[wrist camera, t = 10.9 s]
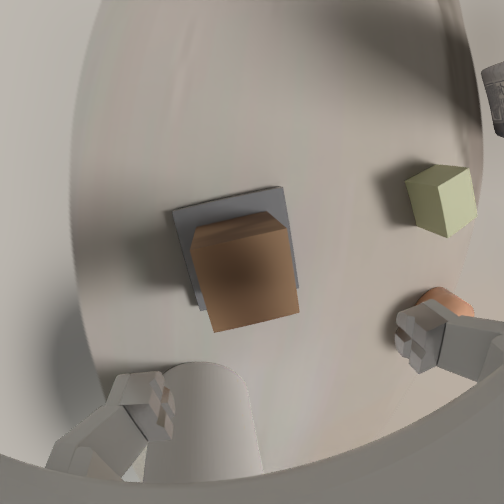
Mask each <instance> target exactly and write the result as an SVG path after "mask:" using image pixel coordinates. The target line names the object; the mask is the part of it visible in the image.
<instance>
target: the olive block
mask: <svg viewBox="0 0 504 504" xmlns="http://www.w3.org/2000/svg"><path fill="white" fill-rule="evenodd" d="M405 184H406V187H407V191H408V194H409V198H410V202H411V205H412V209H413V213H414V217H415V221H416V225H417V227H420V228H423V229H425V230H428V231H430V232H433V233H436V234H438V235H441V236H443V237H446V238H449V237H451V236H452V235H453V234H455V233H456V232H457V231H459V230H460V229H461V228H463V227H464V226H465V225H467V224H468V223H469V222H471V221H472V220H473V219H475V218H476V217H477V210H476V203H475V197H474V191H473V186H472V180H471V176H470V171H469V168H466V167H457V166H448V165H437V164H436V165H434V166H432V167H430V168H428V169H426V170H425V171H423V172H421V173H419V174H417V175H415V176H413V177H411V178H409V179H408V180H406V181H405Z"/></svg>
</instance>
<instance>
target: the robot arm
mask: <svg viewBox="0 0 504 504" xmlns="http://www.w3.org/2000/svg"><path fill="white" fill-rule="evenodd" d="M396 324H397V325H398V326H399V328H398V329H397V331H396V333H395V344H396V348H397V350H398V352H399V353H400V355H401V356H402V357H405V358H408V359H409V364H410V365H411V367H412V368H413V369H414V370H415V371H416V372H417V373H418V374H420V373H422V372H425V371H427V370H429V369H431V368H433V367H435V366H438V367H440V368H442V369H445V370H447V371H450V372H453V373H455V374H458V375H460V376H463V377H465V378H468V379H471V380H473V381H476V382H477V384H476V385H475V386H473V387H472V388H470V389H469V390H467V391H466V392H464V393H463V394H461V395H460V396H459V397H457V398H455V399H454V400H452V401H451V402H449V403H447V404H446V405H444V406H442V407H441V408H439V409H437V410H436V411H434V412H432V413H430V414H429V415H427V416H425V417H423V418H421V419H419V420H418V421H416V422H414V423H412V424H410V425H408V426H406V427H404V428H402V429H400V430H398V431H395V432H393V433H391V434H389V435H387V436H385V437H382V438H380V439H378V440H375V441H373V442H370V443H368V444H366V445H363V446H360V447H358V448H355V449H352V450H350V451H347V452H344V453H341V454H338V455H335V456H332V457H329V458H326V459H323V460H319V461H316V462H312V463H309V464H305V465H301V466H297V467H293V468H289V469H285V470H280V471H276V472H271V473H266V474H260V475H255V476H249V477H242V478H235V479H227V480H218V481H207V482H191V483H140V482H125V481H123V480H122V479H121V477H122V476H123V475H124V474H125V472H126V471H127V470H128V468H129V467H130V466H131V465H132V463H133V462H134V461H135V460H136V458H137V457H138V456H139V455H140V453H141V452H142V451H143V449H144V448H145V447H146V446H147V444H148V442H151V441H166V440H172V435H173V426H174V425H173V423H172V421H171V419H172V418H173V417H174V416H175V402H174V398H173V395H172V393H171V391H170V389H168V388H167V387H165V386H164V383H165V379H164V377H163V375H162V373H161V372H159V371H152V372H140V373H132V374H131V373H129V374H119V375H117V376H116V378H115V381H114V383H113V386H112V388H111V391H110V393H109V396H108V399H107V401H106V404H105V406H100V407H99V408H98V409H97V410H95V411H94V412H93V413H92V414H91V415H89V416H88V417H87V418H85V419H84V420H83V421H82V422H80V423H79V424H78V425H77V426H75V427H74V428H73V429H72V430H70V431H69V432H68V433H66V434H65V435H64V436H63V437H61V438H60V439H59V440H57V441H56V442H55V444H54V447H53V449H52V452H51V454H50V456H49V459H48V461H47V464H46V467H45V468H43V467H39V466H35V465H32V464H28V463H25V462H22V461H19V460H16V459H13V458H10V457H7V456H5V455H2V454H0V504H504V322H502V321H495V320H489V319H482V318H476V317H470V316H464V315H461V316H458V315H456V314H455V313H453V312H452V311H450V310H449V309H447V308H446V307H445V306H443V305H442V304H440V303H439V302H437V301H436V300H434V299H429V300H427V301H425V302H422V303H420V304H419V305H416V306H414V307H411V308H409V309H406V310H403V311H401V312H398V314H397V317H396Z"/></svg>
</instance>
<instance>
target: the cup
mask: <svg viewBox="0 0 504 504" xmlns="http://www.w3.org/2000/svg"><path fill="white" fill-rule="evenodd" d="M163 377H164V379H165V383H164V386H165V387H167V388H168V389H170V391H171V393H172V395H173V398H174V402H175V416H174V417H173V418H172V419H171V421H172V423H173V425H174V426H173V435H172V440H166V441H151V442H148V446H147V453H146V460H145V468H144V477H143V483H191V482H207V481H218V480H227V479H235V478H242V477H249V476H255V475H260V474H264V471H263V467H262V462H261V457H260V452H259V447H258V442H257V436H256V431H255V426H254V421H253V416H252V410H251V405H250V399H249V394H248V388H247V385H246V383H245V382H244V380H243V379H242V378H241V377H240V376H239V375H238V374H237V373H236V372H234V371H233V370H231V369H229V368H227V367H225V366H222V365H219V364H215V363H209V362H190V363H184V364H181V365H178V366H175V367H173V368H171V369H170V370H168V371H167V372H165V373H164V374H163Z"/></svg>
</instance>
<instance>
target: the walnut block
mask: <svg viewBox="0 0 504 504" xmlns="http://www.w3.org/2000/svg"><path fill="white" fill-rule="evenodd" d="M190 253H191V257H192V260H193V264H194V267H195V271H196V275H197V278H198V282H199V285H200V288H201V292H202V295H203V299H204V302H205V305H206V308H207V312H208V315H209V318H210V321H211V325H212V328H213V331H214V333H215V332H220V331H225V330H230V329H234V328H239V327H243V326H247V325H252V324H256V323H260V322H264V321H268V320H272V319H276V318H280V317H284V316H288V315H292V314H296V313H299V304H298V297H297V290H296V283H295V277H294V270H293V263H292V257H291V250H290V244H289V238H288V232H287V228H286V227H285V226H284V225H282V224H281V223H280V222H279V221H278V220H277V219H276V218H274V217H273V216H272V215H271V214H270V213H269V212H267V211H265V212H260V213H256V214H251V215H246V216H242V217H237V218H233V219H229V220H224V221H220V222H215V223H211V224H207V225H202V226H198V227H196V229H195V233H194V237H193V240H192V244H191V248H190Z"/></svg>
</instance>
